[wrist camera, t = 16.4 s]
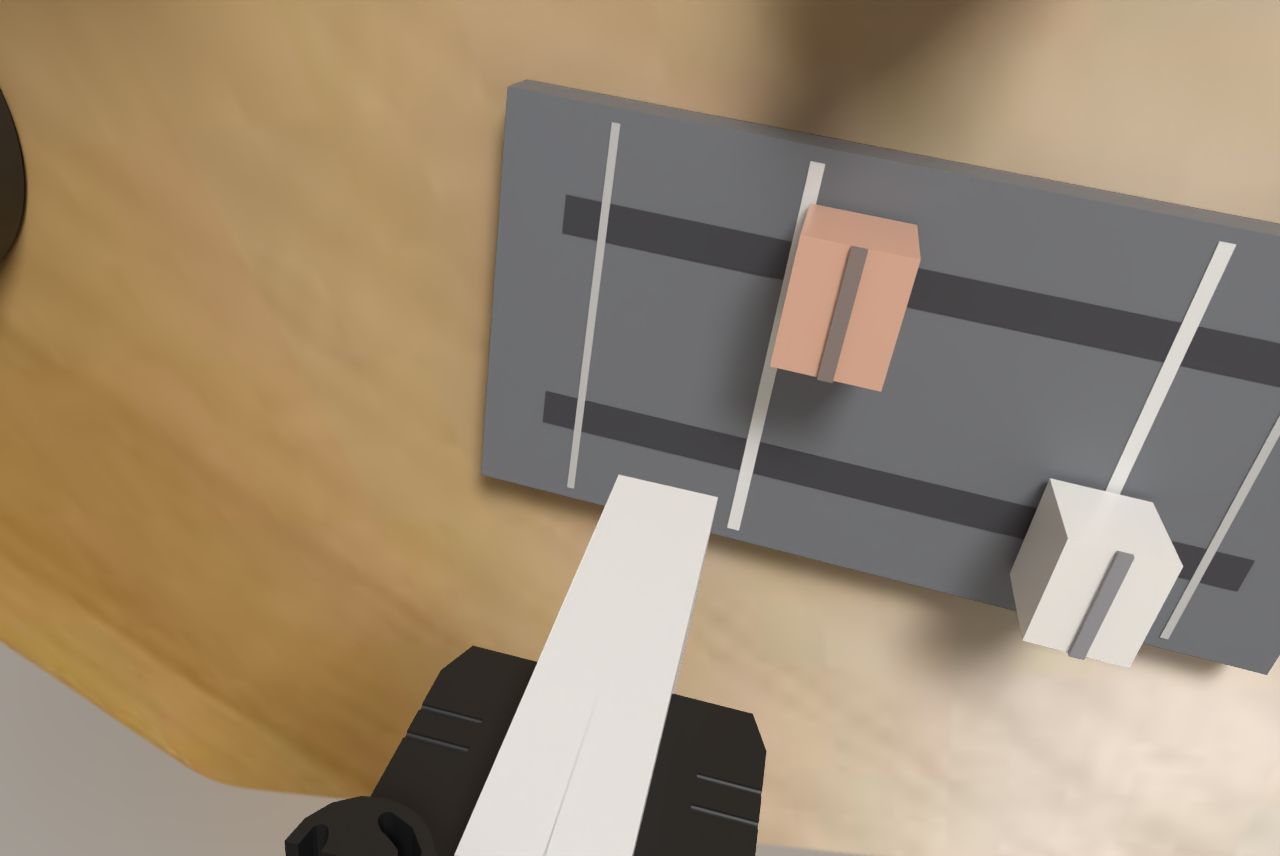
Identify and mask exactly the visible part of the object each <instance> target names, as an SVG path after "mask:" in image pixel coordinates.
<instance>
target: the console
mask: <svg viewBox="0 0 1280 856" xmlns="http://www.w3.org/2000/svg"><path fill="white" fill-rule="evenodd" d="M810 203H811V204H816V205H821V206H826V207H831V208H836V209H841V210H846V211H851V212H856V213H861V214H866V215H871V216H875V217H880V218H885V219H890V220H895V221H900V222H905V223H910V224H915V225H917V227H918V237H919V247H920V258H921V261H920V264H919V267H918V271H917V274H916V277H915V281H914V284H913V287H912V291H911V294H910V297H909V301H908V304H907V307H906V311H905V314H904V317H903V321H902V324H901V327H900V331H899V334H898V337H897V341H896V344H895V347H894V351H893V354H892V357H891V361H890V364H889V367H888V371H887V374H886V377H885V381H884V384H883V387H882V391H881V392H880V391H876V390H871V389H867V388H863V387H858V386H854V385H849V384H845V383H841V382H836V381H833V383H829V382H825V381H820V380H817V377H814V376H810V375H805V374H801V373H797V372H792V371H788V370H784V369H779V368H775V367H770V364H771V359H772V355H773V351H774V346H775V342H776V338H777V333H778V329H779V325H780V320H781V316H782V312H783V307H784V303H785V299H786V294H787V290H788V286H789V282H790V277H791V273H792V269H793V264H794V260H795V256H796V251H797V247H798V243H799V238H800V234H801V231H802V228H803V225H804V221H805V218H806V215H807V212H808V208H809V205H810ZM481 475H485V476H489V477H493V478H497V479H501V480H504V481H508V482H512V483H516V484H520V485H524V486H528V487H532V488H536V489H540V490H544V491H548V492H552V493H555V494H559V495H563V496H567V497H571V498H575V499H579V500H583V501H587V502H591V503H595V504H599V505H603V506H605V505H606V503H607V501H608V498H609V496H610V494H611V491H612V489H613V487H614V484H615V482H616V480H617V477H618V475H623V476H627V477H632V478H636V479H640V480H645V481H649V482H654V483H658V484H662V485H667V486H671V487H675V488H680V489H684V490H689V491H693V492H697V493H702V494H706V495H711V496H715V497H718V500H717V504H716V509H715V513H714V518H713V523H712V527H711V532H710V533H712V534H716V535H720V536H724V537H728V538H732V539H736V540H740V541H744V542H748V543H752V544H755V545H759V546H763V547H767V548H771V549H775V550H779V551H783V552H787V553H791V554H795V555H799V556H803V557H806V558H810V559H814V560H818V561H822V562H826V563H830V564H834V565H838V566H842V567H846V568H850V569H854V570H857V571H861V572H865V573H869V574H873V575H877V576H881V577H885V578H889V579H893V580H897V581H901V582H905V583H908V584H912V585H916V586H920V587H924V588H928V589H932V590H936V591H940V592H944V593H948V594H952V595H956V596H959V597H963V598H967V599H971V600H975V601H979V602H983V603H987V604H991V605H995V606H999V607H1003V608H1006V609H1010V610H1014V611H1017V610H1016V604H1015V599H1014V594H1013V589H1012V583H1011V578H1010V572H1011V570H1012V567H1013V565H1014V562H1015V560H1016V558H1017V555H1018V553H1019V550H1020V548H1021V546H1022V543H1023V541H1024V539H1025V536H1026V534H1027V531H1028V529H1029V527H1030V524H1031V522H1032V520H1033V517H1034V515H1035V512H1036V510H1037V508H1038V505H1039V503H1040V500H1041V498H1042V496H1043V493H1044V491H1045V489H1046V486H1047V484H1048V481H1049V479H1050V478H1051V479H1055V480H1060V481H1064V482H1068V483H1072V484H1077V485H1081V486H1085V487H1089V488H1094V489H1098V490H1102V491H1107V492H1111V493H1115V494H1119V495H1124V496H1128V497H1132V498H1136V499H1141V500H1145V501H1149V502H1153V504H1154V506H1155V508H1156V510H1157V512H1158V514H1159V516H1160V518H1161V521H1162V523H1163V525H1164V527H1165V529H1166V531H1167V533H1168V535H1169V537H1170V540H1171V542H1172V544H1173V546H1174V548H1175V550H1176V552H1177V554H1178V556H1179V559H1180V561H1181V563H1182V565H1183V568H1182V570H1181V572H1180V574H1179V576H1178V577H1177V579H1176V581H1175V583H1174V585H1173V587H1172V589H1171V591H1170V593H1169V594H1168V596H1167V598H1166V600H1165V602H1164V604H1163V606H1162V608H1161V610H1160V611H1159V613H1158V615H1157V617H1156V619H1155V621H1154V623H1153V625H1152V626H1151V628H1150V630H1149V632H1148V634H1147V636H1146V638H1145V640H1144V642H1143V643H1144V644H1148V645H1152V646H1156V647H1159V648H1163V649H1167V650H1171V651H1175V652H1179V653H1183V654H1187V655H1191V656H1195V657H1199V658H1203V659H1207V660H1210V661H1214V662H1218V663H1222V664H1226V665H1230V666H1234V667H1238V668H1242V669H1246V670H1250V671H1254V672H1258V673H1261V674H1265V675H1267V674H1268V673H1269V671H1270V669H1271V668H1272V666H1273V665H1274V663H1275V661H1276V660H1277V658H1278V657H1279V655H1280V224H1277V223H1272V222H1267V221H1261V220H1256V219H1251V218H1246V217H1241V216H1235V215H1230V214H1225V213H1220V212H1215V211H1209V210H1204V209H1199V208H1194V207H1188V206H1183V205H1178V204H1173V203H1168V202H1162V201H1157V200H1152V199H1147V198H1142V197H1136V196H1131V195H1126V194H1121V193H1116V192H1110V191H1105V190H1100V189H1095V188H1089V187H1084V186H1079V185H1074V184H1069V183H1063V182H1058V181H1053V180H1048V179H1043V178H1037V177H1032V176H1027V175H1022V174H1017V173H1011V172H1006V171H1001V170H996V169H990V168H985V167H980V166H975V165H970V164H964V163H959V162H954V161H949V160H944V159H938V158H933V157H928V156H923V155H918V154H912V153H907V152H902V151H897V150H891V149H886V148H881V147H876V146H871V145H865V144H860V143H855V142H850V141H845V140H839V139H834V138H829V137H824V136H819V135H813V134H808V133H803V132H798V131H792V130H787V129H782V128H777V127H772V126H766V125H761V124H756V123H751V122H746V121H740V120H735V119H730V118H725V117H720V116H714V115H709V114H704V113H699V112H693V111H688V110H683V109H678V108H673V107H667V106H662V105H657V104H652V103H647V102H641V101H636V100H631V99H626V98H621V97H615V96H610V95H605V94H600V93H594V92H589V91H584V90H579V89H574V88H568V87H563V86H558V85H553V84H548V83H542V82H537V81H532V80H524V81H522V82H519V83H516V84H514V85H511V86H508V89H507V103H506V118H505V132H504V147H503V161H502V176H501V190H500V205H499V219H498V234H497V248H496V263H495V277H494V292H493V306H492V321H491V335H490V350H489V364H488V379H487V393H486V407H485V422H484V436H483V451H482V465H481Z"/></svg>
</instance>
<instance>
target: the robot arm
mask: <svg viewBox="0 0 1280 856" xmlns="http://www.w3.org/2000/svg"><path fill="white" fill-rule="evenodd" d="M23 203H24V175H23V165H22V158H21V152H20V148H19V143H18V139H17V135H16V131H15V128H14V125H13V122H12V119H11V116H10V113H9V110H8V108H7V105H6V103H5V100H4V98H3V96H2V93H1V91H0V261H1V260H2V259H3V257H4V256H5V255H6V253H7V252H8V250H9V249H10V247H11V245H12V243H13V241H14V239H15V237H16V234H17V231H18V228H19V225H20V221H21V216H22V210H23ZM717 500H718V497H715V496H711V495H706V494H702V493H697V492H693V491H689V490H684V489H680V488H675V487H671V486H667V485H662V484H658V483H654V482H649V481H645V480H640V479H636V478H632V477H627V476H623V475H618V477H617V480H616V482H615V484H614V487H613V489H612V491H611V494H610V496H609V498H608V501H607V503H606V505H605V507H604V510H603V512H602V514H601V517H600V519H599V521H598V524H597V526H596V528H595V531H594V533H593V535H592V538H591V540H590V542H589V544H588V547H587V549H586V551H585V554H584V556H583V558H582V561H581V563H580V565H579V568H578V570H577V572H576V575H575V577H574V579H573V582H572V584H571V586H570V588H569V591H568V593H567V595H566V598H565V600H564V602H563V605H562V607H561V609H560V612H559V614H558V616H557V619H556V621H555V623H554V625H553V628H552V630H551V632H550V635H549V637H548V639H547V642H546V644H545V646H544V649H543V651H542V653H541V656H540V658H539V660H538V662H535V661H531V660H527V659H523V658H519V657H516V656H512V655H508V654H504V653H500V652H496V651H492V650H488V649H484V648H480V647H476V646H472V647H471V648H469V649H468V650H467V651H465V652H464V653H463V654H461V655H460V656H459V657H458V658H456V659H455V660H454V661H452V662H451V663H450V664H448V665H447V666H446V667H445V668H443V669H442V670H441V671H440V673H439V675H438V677H437V678H436V680H435V682H434V684H433V686H432V687H431V689H430V691H429V693H428V694H427V696H426V698H425V700H424V702H423V704H422V708H421V710H419V711H418V712H417V714H416V716H415V718H414V720H413V721H412V723H411V725H410V727H409V729H408V730H407V735H406V737H405V738H403V739H402V741H401V743H400V745H399V746H398V748H397V750H396V752H395V754H394V755H393V757H392V759H391V761H390V763H389V764H388V766H387V768H386V770H385V772H384V773H383V775H382V777H381V779H380V780H379V782H378V784H377V786H376V788H375V789H374V791H373V793H372V795H371V797H366V796H360V797H355V798H351V799H346V800H342V801H338V802H333V803H331V804H329V805H327V806H326V807H324V808H322V809H320V810H318V811H317V812H315V813H313V814H312V815H310V816H308V817H306V818H305V819H304V820H303V821H302V822H301V823H300V824H299V826H298V827H297V828H296V829H295V830H294V831H293V832H292V833H291V834H290V836H289V837H288V838H287V839H286V840H285V851H286V856H755V852H756V843H757V833H758V829H757V828H758V822H759V815H760V805H761V792H762V786H763V777H764V768H765V758H766V749H765V746H764V744H763V741H762V738H761V735H760V733H759V730H758V727H757V724H756V722H755V719H754V716H753V714H751V713H747V712H743V711H739V710H735V709H731V708H727V707H723V706H720V705H716V704H712V703H708V702H704V701H700V700H696V699H692V698H688V697H684V696H680V695H676V694H675V689H676V685H677V681H678V677H679V672H680V668H681V664H682V660H683V655H684V651H685V647H686V643H687V638H688V634H689V629H690V625H691V620H692V615H693V611H694V606H695V601H696V597H697V592H698V588H699V583H700V578H701V574H702V569H703V564H704V560H705V555H706V551H707V546H708V541H709V537H710V532H711V527H712V523H713V518H714V513H715V509H716V504H717Z"/></svg>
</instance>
